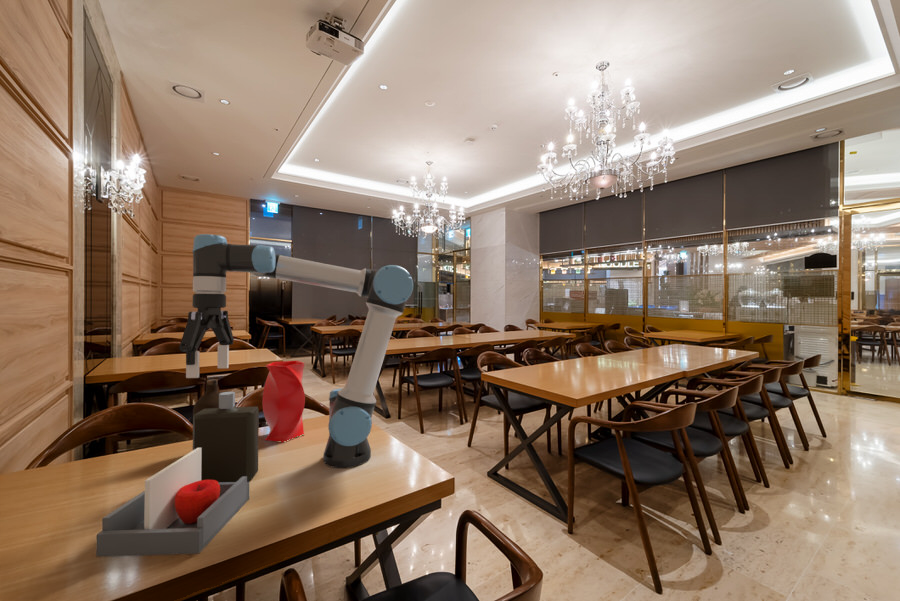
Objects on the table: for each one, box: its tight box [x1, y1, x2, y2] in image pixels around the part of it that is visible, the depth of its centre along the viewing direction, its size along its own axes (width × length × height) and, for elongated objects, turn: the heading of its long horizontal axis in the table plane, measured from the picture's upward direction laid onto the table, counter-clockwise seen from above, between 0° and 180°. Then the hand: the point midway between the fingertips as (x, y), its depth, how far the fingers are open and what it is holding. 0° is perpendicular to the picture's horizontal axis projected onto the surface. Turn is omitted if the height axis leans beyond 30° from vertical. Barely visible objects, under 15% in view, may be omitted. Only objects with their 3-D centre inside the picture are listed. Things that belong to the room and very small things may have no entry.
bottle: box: [192, 391, 260, 483], centre depth 107 cm, size 8×16×25 cm, turn 100°
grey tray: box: [95, 476, 250, 557], centre depth 85 cm, size 20×21×7 cm
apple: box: [175, 480, 220, 524], centre depth 85 cm, size 9×9×8 cm
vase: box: [261, 360, 306, 443], centre depth 142 cm, size 15×14×28 cm
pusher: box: [144, 448, 202, 529], centre depth 85 cm, size 6×17×13 cm, turn 3°
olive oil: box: [192, 378, 221, 417], centre depth 125 cm, size 11×11×25 cm
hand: (208, 372), depth 98 cm, fingers open, 13 cm apart
